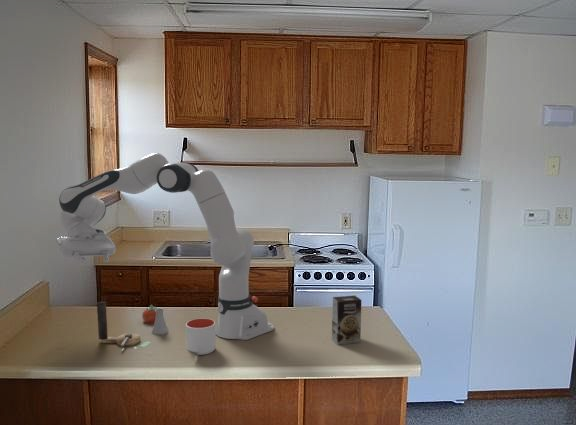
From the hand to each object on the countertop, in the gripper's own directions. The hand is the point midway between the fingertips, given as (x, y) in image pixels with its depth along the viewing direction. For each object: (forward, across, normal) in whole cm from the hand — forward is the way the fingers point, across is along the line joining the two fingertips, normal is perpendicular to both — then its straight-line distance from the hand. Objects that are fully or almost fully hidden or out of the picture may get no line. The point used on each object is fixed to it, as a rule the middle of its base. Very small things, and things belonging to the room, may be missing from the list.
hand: (95, 261), depth 195 cm
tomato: (+17, +24, +20) cm, 35 cm away
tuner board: (+28, +5, +15) cm, 33 cm away
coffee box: (+70, +64, -20) cm, 97 cm away
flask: (+28, +20, +14) cm, 37 cm away
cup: (+47, +22, +1) cm, 52 cm away
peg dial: (+28, +3, +14) cm, 32 cm away
